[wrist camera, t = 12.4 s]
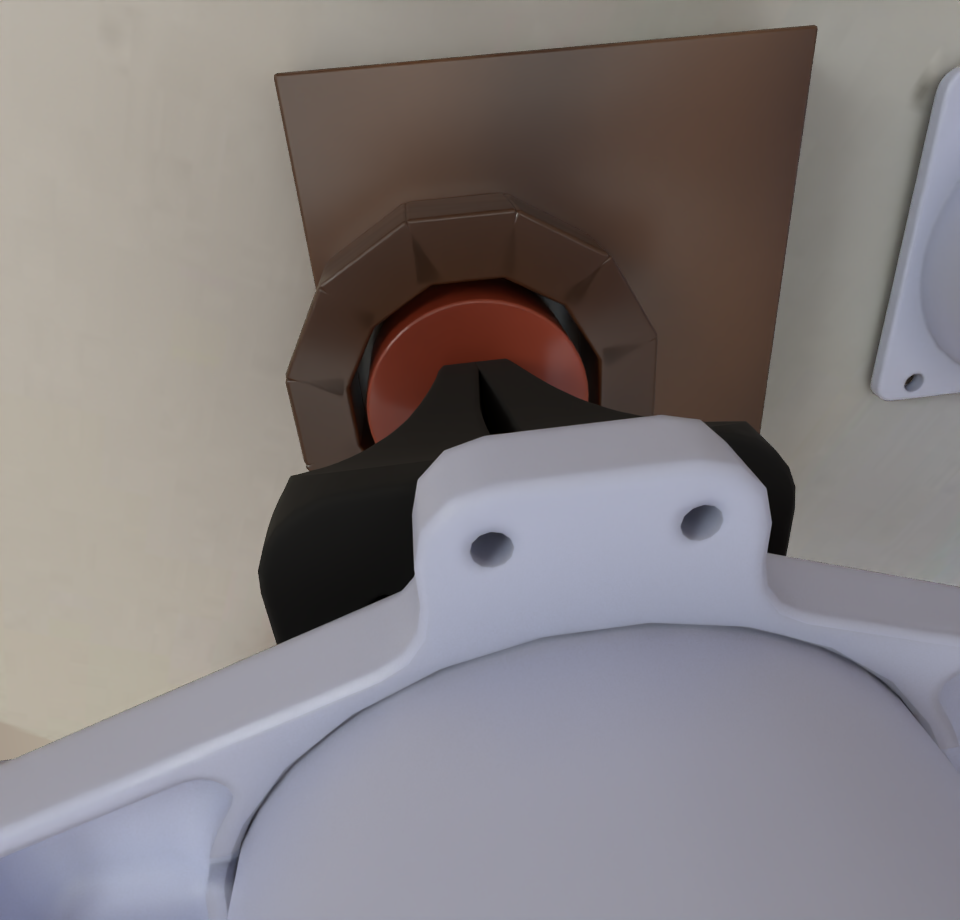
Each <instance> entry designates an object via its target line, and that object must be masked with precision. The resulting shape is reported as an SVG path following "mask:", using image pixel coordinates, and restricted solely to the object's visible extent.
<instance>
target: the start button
mask: <svg viewBox="0 0 960 920" xmlns="http://www.w3.org/2000/svg"><path fill="white" fill-rule="evenodd" d="M504 358H506V359H508V360H510V361H512V362H514V363H515V364H517V365H518V366H520V367H522V368H523V369H525V370H526V371H528V372H530V373H531V374H533V375H534V376H536V377H538V378H540V379H541V380H543V381H545V382H547V383H548V384H550V385H552V386H554V387H556V388H558V389H560V390H562V391H564V392H566V393H568V394H571V395H573V396H575V397H577V398H580V399H582V400H585V401H587V402H588V398H589V392H588V381H587V376H586V371H585V368H584V365H583V362H582V360H581V357H580V355H579V353H578V351H577V350H576V348H575V346H574V344H573V343H572V341H571V340H570V338H569V336H568V335H567V333H566V332H565V330H564V329H563V327H562V325H561V324H560V322H559V321H558V319H557V318H556V316H555V315H554V314H553V312H552V311H551V310H550V308H549V307H548V306H547V305H546V304H545V303H544V302H543V301H542V300H541V299H540V298H538V297H537V296H536V295H534V294H533V293H532V292H530V291H529V290H527V289H525V288H523V287H521V286H520V285H518V284H515V283H513V282H510V281H507V280H505V279H501V278H495V279H486V280H476V281H467V282H458V283H448V284H439V285H432V286H430V287H429V288H427V289H426V290H425V291H423V292H422V293H421V294H419V295H418V296H416V297H415V298H414V299H412V300H411V301H410V302H408V303H407V304H405V305H404V306H403V307H401V308H400V309H399V310H397V311H396V312H394V313H393V314H392V315H390V316H389V317H388V318H387V320H386V321H385V323H384V324H383V326H382V328H381V330H380V332H379V334H378V335H377V337H376V340H375V343H374V346H373V349H372V354H371V359H370V366H369V378H368V389H367V417H368V423H369V427H370V431H371V434H372V437H373V439H374V442H375V444H376V443H377V442H379V441H380V440H382V439H384V438H385V437H387V436H388V435H390V434H391V433H392V432H393V431H395V430H396V429H397V428H398V427H399V426H401V425H402V424H403V423H404V422H405V421H406V420H407V419H408V418H409V417H410V416H411V414H412V413H413V412H414V411H415V410H416V408H417V407H418V406H419V405H420V403H421V402H422V400H423V399H424V397H425V396H426V394H427V393H428V391H429V390H430V388H431V386H432V384H433V383H434V381H435V379H436V377H437V374H438V371H439V370H440V369H441V368H442V366H443V365H452V364H460V363H469V362H478V361H487V360H496V359H504Z"/></svg>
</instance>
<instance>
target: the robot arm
mask: <svg viewBox="0 0 960 920" xmlns="http://www.w3.org/2000/svg"><path fill="white" fill-rule="evenodd" d="M911 375H914V377H913V379H912V381H911V382H910V383H908V384H907V385H905V382H906V380H907V379H908V378H909V377H910V376H911ZM871 390H872V392H873V393H874V394H875V395H877V396H878V397H880V398H881V399H883V400H885V401H895V400H903V399H912V398H920V397H928V396H937V395H945V394H953V393H960V66H958V67H955V68H953V69H952V70H951V71H950V72H948V73H947V74H946V75H945V76H944V78H943V79H942V80H941V82H940V83H939V86H938V88H937V91H936V94H935V98H934V103H933V107H932V112H931V116H930V121H929V125H928V129H927V134H926V138H925V143H924V147H923V152H922V156H921V161H920V165H919V170H918V174H917V178H916V183H915V187H914V192H913V196H912V201H911V205H910V210H909V214H908V219H907V223H906V227H905V232H904V236H903V241H902V245H901V250H900V254H899V259H898V263H897V268H896V272H895V276H894V281H893V285H892V290H891V294H890V299H889V303H888V308H887V312H886V317H885V321H884V325H883V330H882V334H881V339H880V343H879V348H878V352H877V357H876V361H875V366H874V370H873V374H872V379H871ZM794 510H795V484H794V481H793V478H792V475H791V472H790V469H789V467H788V465H787V464H786V463H785V462H784V460H783V459H782V458H781V456H780V455H779V454H778V453H777V451H776V450H775V449H774V448H773V447H772V446H771V445H770V444H769V443H768V442H767V441H766V440H765V439H764V438H763V437H762V436H761V435H760V434H759V433H758V432H757V431H756V430H755V429H754V428H753V427H752V426H751V425H750V424H749V423H747V422H746V421H716V422H702V421H701V420H698V419H691V418H683V417H675V416H667V415H655V416H647V417H645V416H640V415H635V414H630V413H625V412H620V411H616V410H612V409H609V408H606V407H603V406H599V405H596V404H593V403H590V402H587V401H585V400H582V399H580V398H577V397H575V396H573V395H571V394H568V393H566V392H564V391H562V390H560V389H558V388H556V387H554V386H552V385H550V384H548V383H547V382H545V381H543V380H541V379H540V378H538V377H536V376H534V375H533V374H531V373H530V372H528V371H526V370H525V369H523V368H522V367H520V366H518V365H517V364H515V363H514V362H512V361H510V360H508V359H506V358H504V359H496V360H487V361H478V362H469V363H460V364H452V365H443V366H442V368H441V369H440V370H439V371H438V374H437V377H436V379H435V381H434V383H433V384H432V386H431V388H430V390H429V391H428V393H427V394H426V396H425V397H424V399H423V400H422V402H421V403H420V405H419V406H418V407H417V408H416V410H415V411H414V412H413V413H412V414H411V416H410V417H409V418H408V419H407V420H406V421H405V422H404V423H403V424H402V425H401V426H399V427H398V428H397V429H396V430H395V431H393V432H392V433H391V434H390V435H388V436H387V437H385V438H384V439H382V440H380V441H379V442H377V443H376V444H374V445H373V446H371V447H369V448H368V449H366V450H364V451H362V452H360V453H358V454H356V455H354V456H352V457H350V458H348V459H345V460H343V461H340V462H338V463H335V464H332V465H330V466H327V467H323V468H320V469H316V470H312V471H309V472H305V473H302V474H298V475H293V476H291V477H290V478H289V480H288V483H287V485H286V487H285V489H284V491H283V493H282V495H281V497H280V499H279V501H278V503H277V506H276V508H275V510H274V512H273V515H272V518H271V521H270V524H269V527H268V530H267V534H266V538H265V542H264V546H263V550H262V555H261V560H260V564H259V569H258V574H259V582H260V589H261V595H262V598H263V601H264V604H265V608H266V611H267V614H268V617H269V621H270V624H271V627H272V630H273V634H274V637H275V640H276V643H277V645H276V646H273V647H271V648H269V649H266V650H264V651H262V652H259V653H257V654H255V655H252V656H250V657H248V658H245V659H243V660H241V661H239V662H236V663H234V664H232V665H229V666H227V667H225V668H222V669H220V670H218V671H215V672H213V673H211V674H209V675H206V676H204V677H202V678H199V679H197V680H195V681H192V682H190V683H188V684H185V685H183V686H181V687H178V688H176V689H174V690H172V691H169V692H167V693H165V694H162V695H160V696H158V697H155V698H153V699H151V700H148V701H146V702H144V703H142V704H139V705H137V706H135V707H132V708H130V709H128V710H125V711H123V712H121V713H118V714H116V715H114V716H112V717H109V718H107V719H105V720H102V721H100V722H98V723H95V724H93V725H91V726H88V727H86V728H84V729H81V730H79V731H77V732H75V733H72V734H70V735H68V736H65V737H63V738H61V739H58V740H56V741H54V742H51V743H49V744H47V745H45V746H42V747H40V748H38V749H35V750H33V751H31V752H28V753H26V754H24V755H21V756H19V757H17V758H15V759H10V760H3V761H0V920H960V587H957V586H952V585H946V584H940V583H935V582H929V581H923V580H918V579H912V578H906V577H901V576H895V575H889V574H884V573H878V572H872V571H867V570H861V569H856V568H850V567H844V566H839V565H833V564H827V563H822V562H816V561H810V560H805V559H799V558H793V557H788V556H786V554H787V548H788V543H789V537H790V532H791V526H792V521H793V515H794Z"/></svg>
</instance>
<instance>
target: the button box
mask: <svg viewBox="0 0 960 920" xmlns="http://www.w3.org/2000/svg"><path fill="white" fill-rule="evenodd" d="M816 36H817V26H815V25H809V26H798V27H787V28H775V29H764V30H753V31H742V32H731V33H720V34H709V35H698V36H686V37H675V38H664V39H653V40H642V41H631V42H620V43H608V44H597V45H586V46H575V47H564V48H553V49H542V50H530V51H519V52H508V53H497V54H486V55H475V56H464V57H453V58H441V59H430V60H419V61H408V62H397V63H386V64H375V65H363V66H352V67H341V68H330V69H319V70H308V71H297V72H285V73H277V74H275V75H274V81H275V86H276V91H277V96H278V101H279V106H280V111H281V116H282V121H283V126H284V131H285V136H286V141H287V146H288V151H289V156H290V161H291V166H292V171H293V176H294V181H295V186H296V191H297V196H298V201H299V206H300V211H301V216H302V221H303V226H304V231H305V236H306V241H307V246H308V251H309V256H310V261H311V266H312V271H313V276H314V281H315V286H316V292H315V295H314V298H313V300H312V303H311V306H310V308H309V311H308V314H307V317H306V319H305V322H304V325H303V328H302V330H301V333H300V336H299V339H298V341H297V344H296V347H295V350H294V352H293V355H292V358H291V361H290V364H289V366H288V369H287V372H286V386H287V391H288V395H289V399H290V403H291V407H292V412H293V416H294V420H295V424H296V428H297V433H298V437H299V441H300V445H301V449H302V454H303V458H304V462H305V463H306V465H307V466H306V467H307V469H308V470H309V471H312V470H316V469H320V468H323V467H327V466H330V465H332V464H335V463H338V462H340V461H343V460H345V459H348V458H350V457H352V456H354V455H356V454H358V453H360V452H362V451H364V450H366V449H368V448H369V447H371V446H373V445H374V444H375V442H374V439H373V437H372V434H371V431H370V427H369V423H368V417H367V389H368V378H369V366H370V359H371V354H372V349H373V346H374V343H375V340H376V337H377V335H378V334H379V332H380V330H381V328H382V326H383V324H384V323H385V321H386V320H387V318H388V317H389V316H390V315H392V314H393V313H394V312H396V311H397V310H399V309H400V308H401V307H403V306H404V305H405V304H407V303H408V302H410V301H411V300H412V299H414V298H415V297H416V296H418V295H419V294H421V293H422V292H423V291H425V290H426V289H427V288H429V287H430V286H432V285H439V284H448V283H458V282H467V281H476V280H486V279H495V278H501V279H505V280H507V281H510V282H513V283H515V284H518V285H520V286H521V287H523V288H525V289H527V290H529V291H530V292H532V293H533V294H534V295H536V296H537V297H538V298H540V299H541V300H542V301H543V302H544V303H545V304H546V305H547V306H548V307H549V308H550V310H551V311H552V312H553V314H554V315H555V316H556V318H557V319H558V321H559V322H560V324H561V325H562V327H563V329H564V330H565V332H566V333H567V335H568V336H569V338H570V340H571V341H572V343H573V344H574V346H575V348H576V350H577V351H578V353H579V355H580V357H581V360H582V362H583V365H584V368H585V371H586V376H587V381H588V392H589V398H588V402H590V403H593V404H596V405H599V406H603V407H606V408H609V409H612V410H616V411H620V412H625V413H630V414H635V415H640V416H645V417H647V416H655V415H667V416H675V417H683V418H691V419H698V420H701V421H702V422H716V421H746V422H747V423H749V424H750V425H751V426H752V427H753V428H754V429H755V430H756V431H757V432H758V433H759V434H760V429H761V422H762V415H763V408H764V401H765V394H766V387H767V380H768V373H769V366H770V359H771V352H772V345H773V338H774V331H775V324H776V317H777V310H778V303H779V296H780V289H781V282H782V275H783V268H784V261H785V254H786V247H787V240H788V233H789V226H790V219H791V212H792V205H793V198H794V191H795V184H796V177H797V170H798V162H799V155H800V148H801V141H802V134H803V127H804V120H805V113H806V106H807V99H808V92H809V85H810V78H811V71H812V64H813V57H814V50H815V43H816Z"/></svg>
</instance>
